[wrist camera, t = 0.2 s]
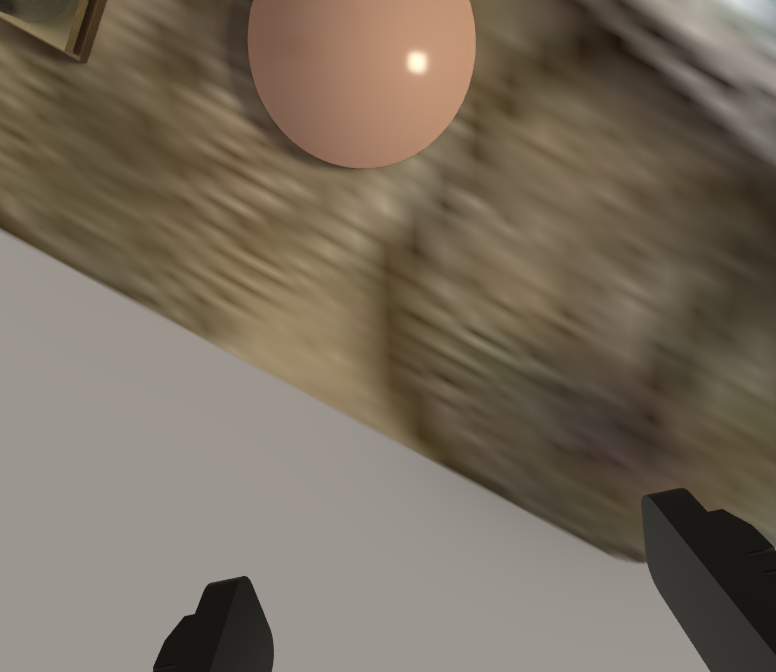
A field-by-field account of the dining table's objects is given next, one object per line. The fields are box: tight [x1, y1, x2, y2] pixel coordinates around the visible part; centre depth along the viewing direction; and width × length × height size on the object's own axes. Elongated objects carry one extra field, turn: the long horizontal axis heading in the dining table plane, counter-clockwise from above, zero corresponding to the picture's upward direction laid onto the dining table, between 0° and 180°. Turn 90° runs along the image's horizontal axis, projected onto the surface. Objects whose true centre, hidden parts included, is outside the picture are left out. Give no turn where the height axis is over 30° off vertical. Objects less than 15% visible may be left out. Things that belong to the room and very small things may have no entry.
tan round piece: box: [248, 0, 476, 169], centre depth 33 cm, size 14×14×1 cm
